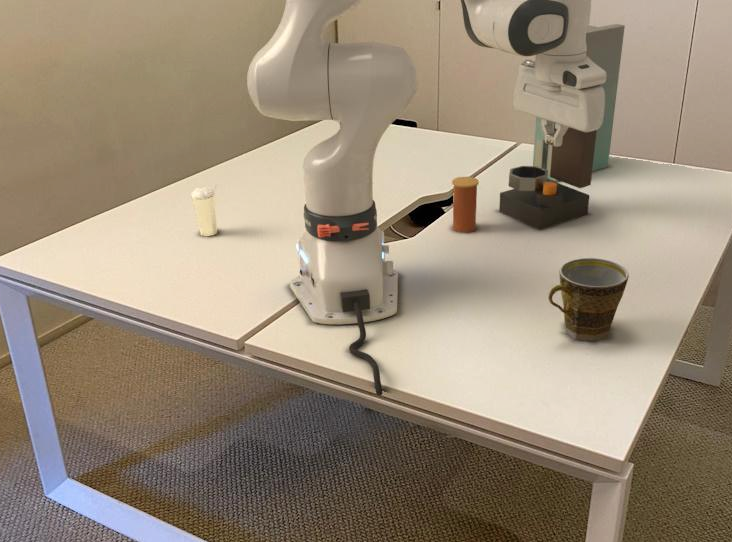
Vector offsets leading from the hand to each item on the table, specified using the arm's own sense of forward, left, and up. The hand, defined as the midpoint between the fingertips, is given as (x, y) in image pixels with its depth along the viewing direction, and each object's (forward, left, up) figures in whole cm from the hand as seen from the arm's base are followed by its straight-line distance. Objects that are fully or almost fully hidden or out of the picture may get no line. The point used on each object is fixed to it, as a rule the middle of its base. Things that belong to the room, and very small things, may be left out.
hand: (553, 144), depth 158 cm
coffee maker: (+4, -1, -9) cm, 10 cm away
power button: (0, 0, -10) cm, 10 cm away
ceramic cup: (-44, +10, -15) cm, 48 cm away
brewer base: (+4, -1, -15) cm, 16 cm away
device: (+28, -15, -15) cm, 35 cm away
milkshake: (+10, +66, -15) cm, 68 cm away
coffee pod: (0, +17, -15) cm, 23 cm away
